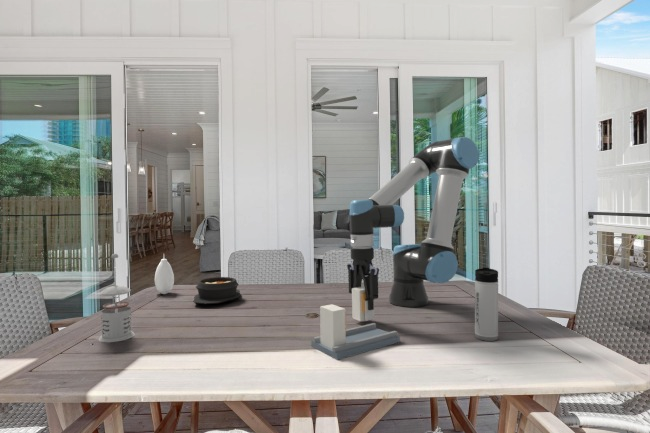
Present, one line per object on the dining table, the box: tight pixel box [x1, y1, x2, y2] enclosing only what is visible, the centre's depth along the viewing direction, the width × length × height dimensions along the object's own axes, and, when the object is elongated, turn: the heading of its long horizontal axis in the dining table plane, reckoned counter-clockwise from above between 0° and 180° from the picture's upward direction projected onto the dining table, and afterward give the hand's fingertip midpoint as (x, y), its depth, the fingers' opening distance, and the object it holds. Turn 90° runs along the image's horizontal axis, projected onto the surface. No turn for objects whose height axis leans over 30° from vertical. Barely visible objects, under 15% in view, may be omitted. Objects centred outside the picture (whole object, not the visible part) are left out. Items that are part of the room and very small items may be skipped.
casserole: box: [192, 276, 242, 305], centre depth 163 cm, size 25×19×8 cm
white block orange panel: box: [351, 285, 375, 322], centre depth 130 cm, size 6×5×10 cm
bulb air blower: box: [154, 253, 175, 295], centre depth 176 cm, size 8×8×18 cm
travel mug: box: [474, 266, 499, 342], centre depth 115 cm, size 6×7×20 cm
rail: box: [310, 304, 401, 361], centre depth 111 cm, size 12×22×12 cm, turn 124°
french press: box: [98, 253, 136, 343], centre depth 119 cm, size 10×12×25 cm
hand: (363, 317), depth 130 cm, fingers closed on white block orange panel, 5 cm apart
